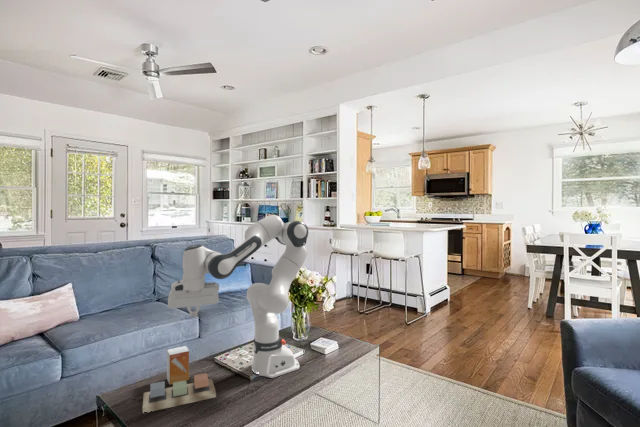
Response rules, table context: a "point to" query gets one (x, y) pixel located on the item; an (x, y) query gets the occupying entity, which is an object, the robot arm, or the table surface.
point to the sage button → (179, 388)
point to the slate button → (157, 389)
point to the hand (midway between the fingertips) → (193, 316)
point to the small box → (177, 364)
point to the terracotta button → (201, 380)
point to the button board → (178, 397)
